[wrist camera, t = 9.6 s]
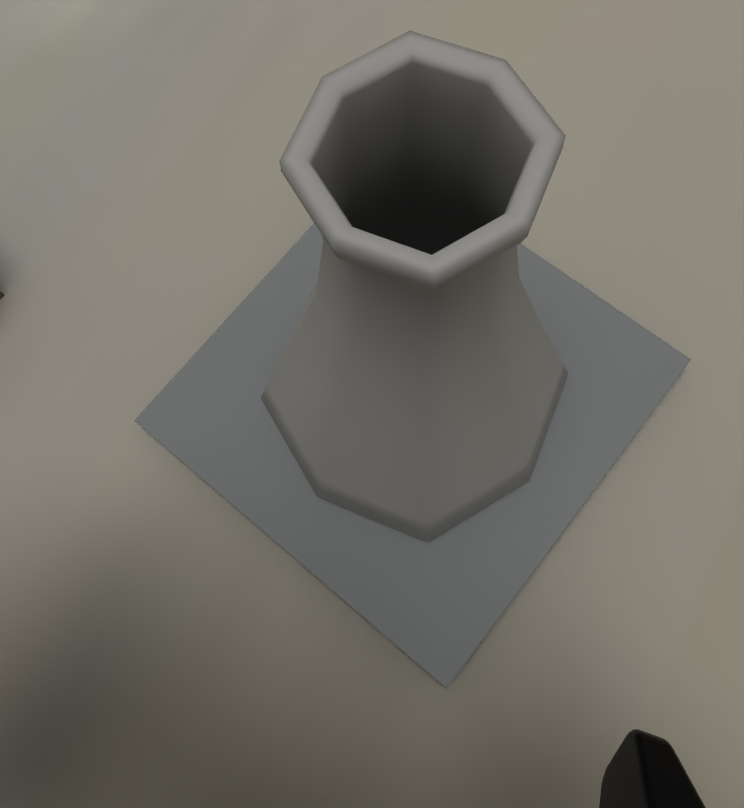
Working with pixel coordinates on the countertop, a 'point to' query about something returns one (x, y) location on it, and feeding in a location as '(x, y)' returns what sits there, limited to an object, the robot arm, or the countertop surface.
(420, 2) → the countertop surface
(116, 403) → the countertop surface
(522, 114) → the flask
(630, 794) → the robot arm
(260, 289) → the grey coaster
